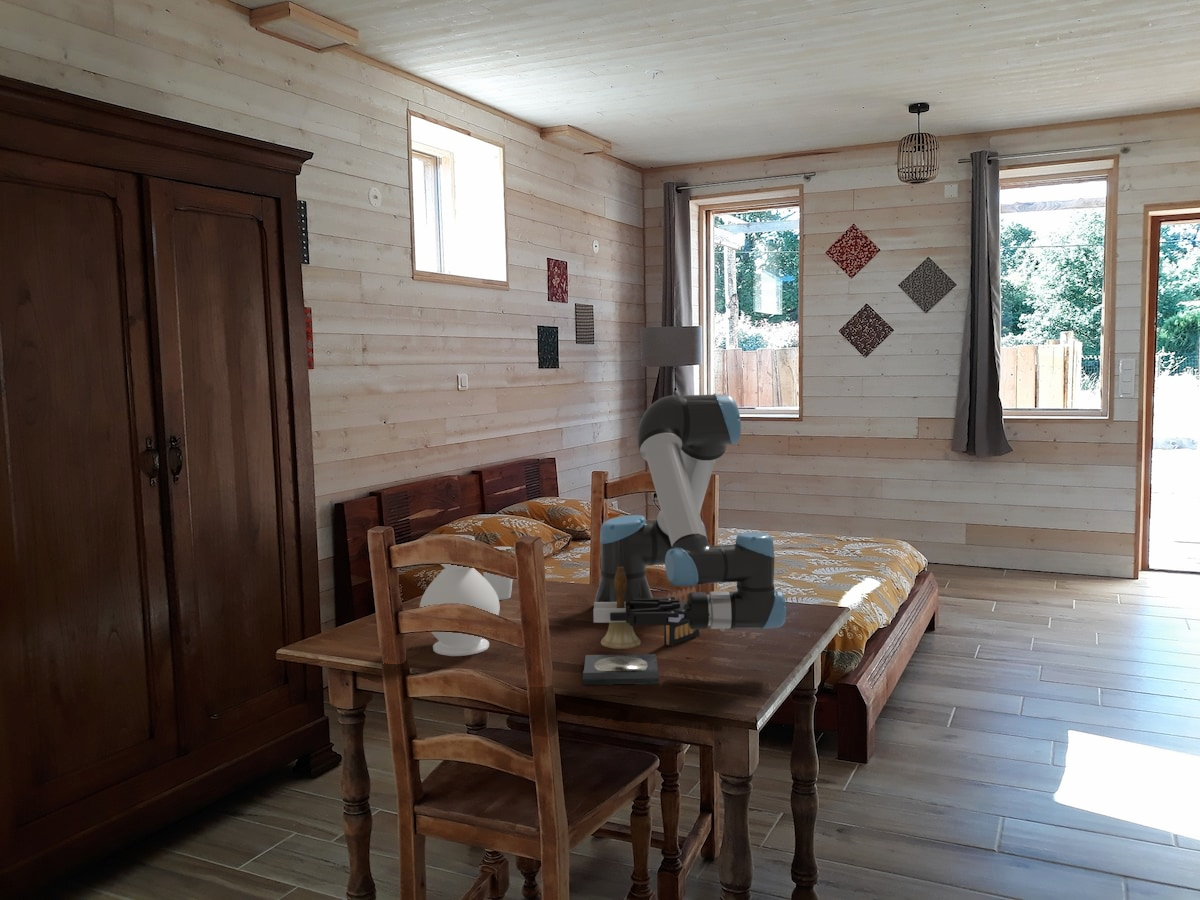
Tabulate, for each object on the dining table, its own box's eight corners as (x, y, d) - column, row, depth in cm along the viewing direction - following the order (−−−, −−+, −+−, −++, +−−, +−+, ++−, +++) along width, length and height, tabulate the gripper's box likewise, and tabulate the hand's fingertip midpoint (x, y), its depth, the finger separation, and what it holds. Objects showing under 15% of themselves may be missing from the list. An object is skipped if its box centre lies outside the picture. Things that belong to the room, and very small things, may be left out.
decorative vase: (433, 664, 198) (428, 549, 195) (412, 642, 214) (408, 535, 211) (511, 652, 205) (508, 540, 203) (486, 631, 221) (483, 528, 219)
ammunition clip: (670, 646, 207) (669, 594, 206) (663, 645, 208) (663, 592, 207) (699, 635, 215) (699, 584, 214) (693, 634, 216) (692, 583, 215)
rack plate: (585, 660, 199) (585, 649, 198) (655, 659, 198) (655, 648, 198) (583, 685, 184) (582, 672, 183) (659, 684, 183) (658, 671, 183)
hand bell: (644, 638, 194) (642, 562, 192) (636, 650, 186) (635, 571, 184) (605, 636, 196) (603, 561, 194) (596, 648, 187) (594, 570, 186)
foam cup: (475, 597, 254) (473, 550, 252) (502, 591, 260) (500, 545, 259) (495, 603, 247) (494, 555, 245) (523, 596, 253) (521, 550, 252)
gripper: (712, 641, 181) (593, 642, 182) (704, 616, 199) (595, 618, 199) (712, 603, 181) (592, 605, 181) (704, 582, 198) (594, 584, 198)
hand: (594, 612), depth 190 cm, fingers closed on hand bell, 4 cm apart
